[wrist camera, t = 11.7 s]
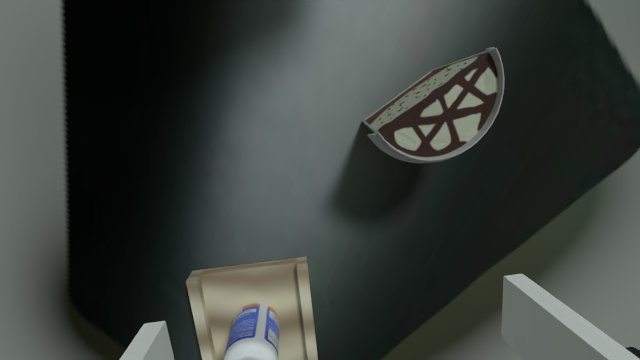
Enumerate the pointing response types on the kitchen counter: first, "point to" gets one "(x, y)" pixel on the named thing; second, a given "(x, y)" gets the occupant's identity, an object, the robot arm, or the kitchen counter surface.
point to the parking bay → (250, 286)
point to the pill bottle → (254, 333)
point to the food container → (441, 111)
